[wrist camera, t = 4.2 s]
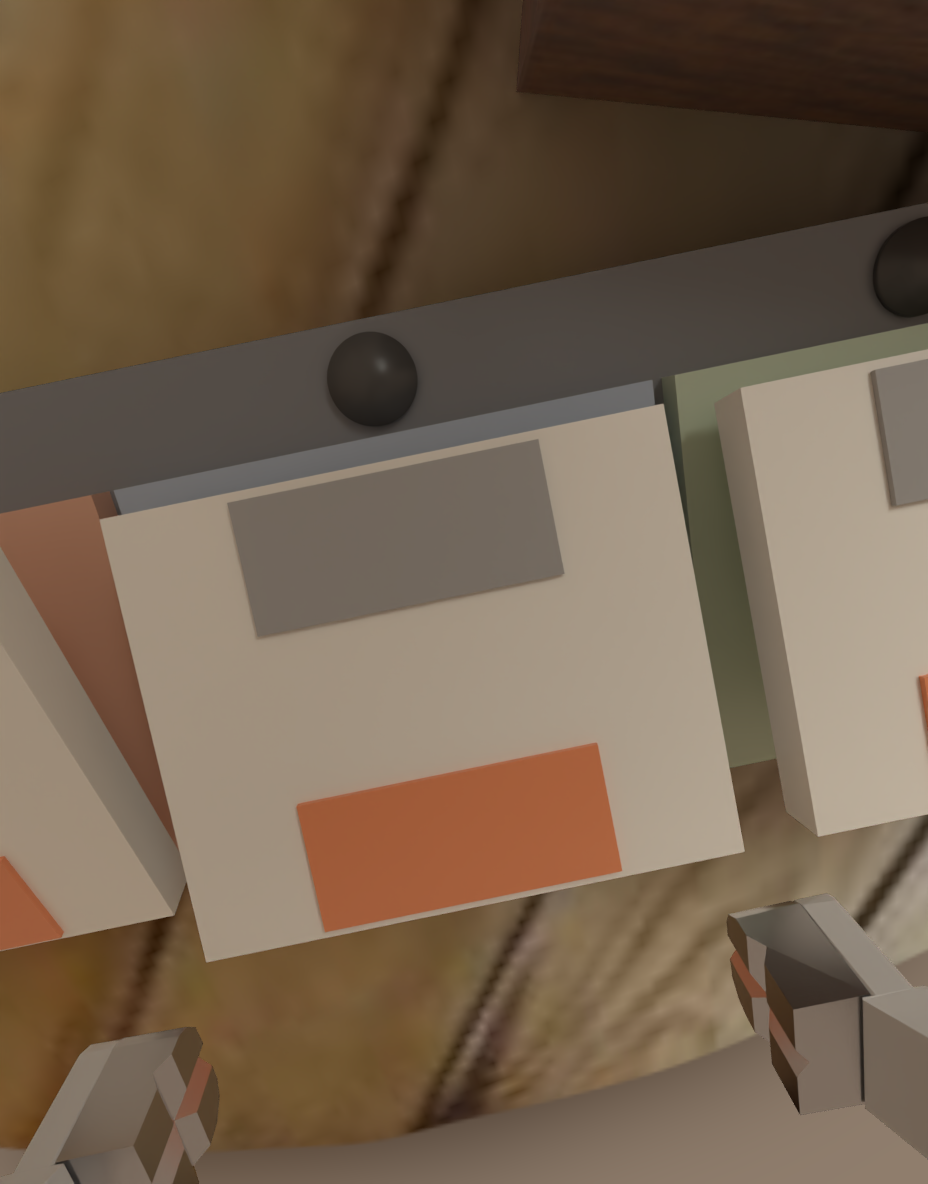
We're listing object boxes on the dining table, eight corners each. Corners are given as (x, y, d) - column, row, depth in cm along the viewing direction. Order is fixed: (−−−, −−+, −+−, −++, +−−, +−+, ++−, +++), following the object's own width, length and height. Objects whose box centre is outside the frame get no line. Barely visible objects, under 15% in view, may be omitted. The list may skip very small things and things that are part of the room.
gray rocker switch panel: (1086, 191, 16) (1277, 123, 13) (1054, 640, 20) (1197, 688, 16) (-344, 484, 16) (-568, 502, 13) (-124, 882, 20) (-250, 986, 16)
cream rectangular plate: (644, 417, 13) (666, 401, 12) (718, 825, 13) (748, 855, 12) (132, 522, 13) (94, 519, 12) (228, 926, 13) (203, 967, 12)
